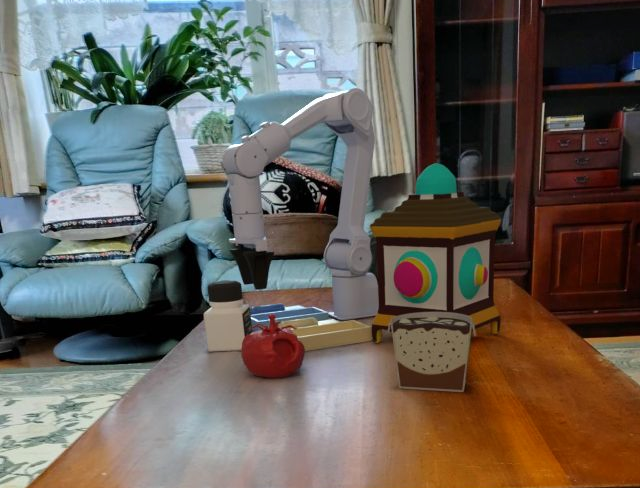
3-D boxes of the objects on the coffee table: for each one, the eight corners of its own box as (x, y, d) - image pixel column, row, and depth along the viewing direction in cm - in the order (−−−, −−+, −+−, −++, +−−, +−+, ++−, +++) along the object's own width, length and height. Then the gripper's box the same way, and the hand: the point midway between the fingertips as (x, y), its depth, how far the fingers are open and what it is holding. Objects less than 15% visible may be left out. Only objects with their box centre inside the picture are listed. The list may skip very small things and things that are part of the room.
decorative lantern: (456, 357, 112) (458, 161, 101) (360, 344, 123) (353, 167, 113) (510, 332, 127) (516, 159, 116) (420, 323, 138) (418, 164, 127)
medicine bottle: (247, 350, 123) (239, 283, 118) (207, 352, 123) (199, 285, 119) (253, 341, 129) (247, 277, 125) (216, 342, 129) (208, 279, 125)
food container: (482, 380, 99) (483, 312, 96) (474, 392, 94) (475, 321, 90) (400, 375, 103) (399, 310, 100) (389, 387, 98) (387, 318, 94)
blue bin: (314, 318, 147) (314, 306, 146) (328, 324, 140) (328, 312, 140) (247, 328, 141) (245, 315, 140) (258, 334, 135) (257, 321, 134)
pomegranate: (232, 380, 105) (225, 320, 102) (262, 363, 114) (256, 308, 110) (289, 384, 102) (284, 322, 98) (316, 366, 110) (312, 309, 107)
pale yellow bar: (333, 327, 138) (332, 312, 136) (340, 331, 134) (340, 315, 133) (276, 336, 133) (274, 320, 132) (282, 339, 130) (281, 323, 129)
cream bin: (354, 333, 132) (353, 319, 131) (372, 340, 126) (371, 326, 125) (280, 344, 126) (279, 330, 125) (295, 352, 120) (294, 338, 119)
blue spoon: (300, 313, 154) (298, 299, 153) (305, 315, 151) (304, 301, 149) (247, 320, 149) (246, 306, 148) (252, 322, 146) (251, 308, 145)
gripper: (216, 213, 132) (225, 284, 137) (237, 216, 120) (245, 293, 125) (251, 211, 135) (258, 280, 140) (275, 213, 122) (282, 289, 127)
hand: (255, 286), depth 132 cm, fingers open, 7 cm apart
